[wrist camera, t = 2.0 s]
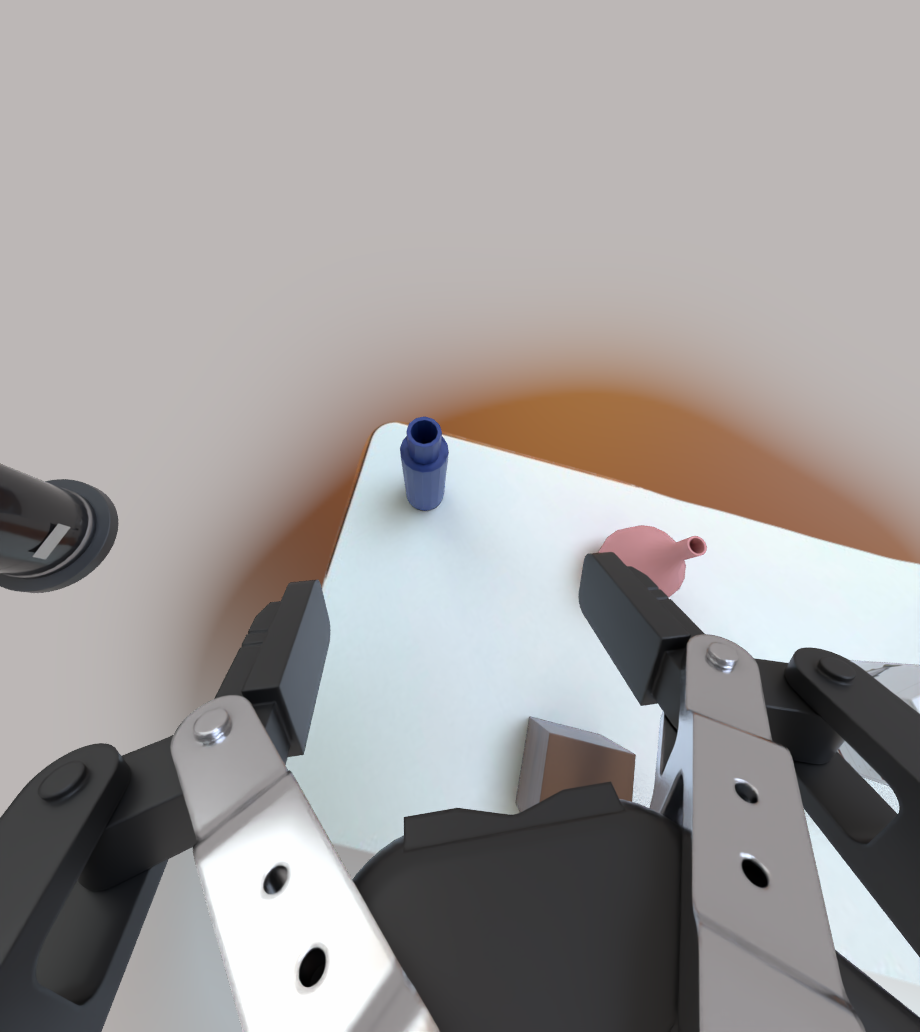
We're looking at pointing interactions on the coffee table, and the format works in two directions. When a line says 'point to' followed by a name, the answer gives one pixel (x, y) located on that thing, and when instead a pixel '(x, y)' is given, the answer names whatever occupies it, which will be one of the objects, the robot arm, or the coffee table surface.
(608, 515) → the coffee table surface
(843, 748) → the white packaging box
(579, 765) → the block
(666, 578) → the pink bud vase
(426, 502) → the bottle
